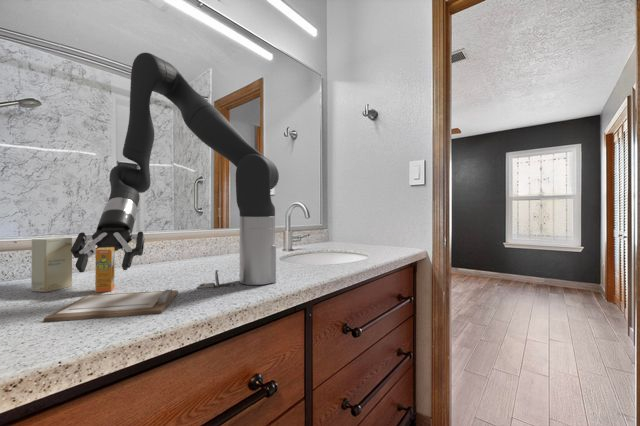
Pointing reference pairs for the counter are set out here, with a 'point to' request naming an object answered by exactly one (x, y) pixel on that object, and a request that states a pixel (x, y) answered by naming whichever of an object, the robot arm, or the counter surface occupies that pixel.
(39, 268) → the skincare box
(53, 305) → the counter surface
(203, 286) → the strap clip
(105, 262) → the supplement box
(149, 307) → the wooden board
